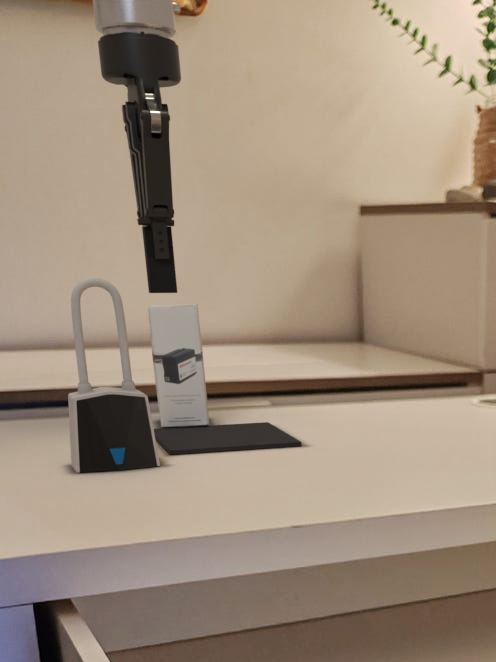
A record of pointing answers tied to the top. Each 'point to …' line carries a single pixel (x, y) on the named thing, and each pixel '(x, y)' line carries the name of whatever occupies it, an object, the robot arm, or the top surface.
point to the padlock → (108, 406)
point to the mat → (223, 438)
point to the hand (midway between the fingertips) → (163, 292)
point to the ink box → (178, 365)
